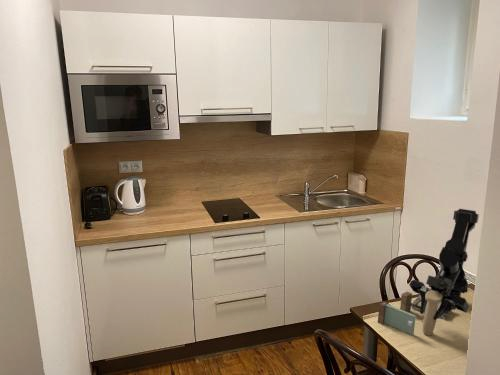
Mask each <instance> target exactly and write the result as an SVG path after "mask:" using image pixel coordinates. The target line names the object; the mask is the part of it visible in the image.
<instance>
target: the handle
mask: <svg viewBox="0 0 500 375" xmlns="http://www.w3.org/2000/svg"><path fill="white" fill-rule="evenodd" d="M425 299H426V300H427V305H426V310H425V312H424V313H423V314H424V315H423V320H422V332H423V335H426V336H427V337H429V336H432V335H433V334H434V330H435V327H436V323H437V319H436V320H434V316H435V314H436V312H437V310H438V308H439V307H438V303H440V302H441V300H442V294H441V293H439V292H437V291H433V290H431V291H427V292H426V294H425Z"/></svg>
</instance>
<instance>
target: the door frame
mask: <svg viewBox="0 0 500 375" xmlns="http://www.w3.org/2000/svg"><path fill="white" fill-rule="evenodd" d="M400 296H401V298H400V305H399V306H400V308H399V309H401V310H403V311H406V312H408V313H410V312H411V309H412V307H411V303H412V300H413V293H412V292H410V291H406V292H403V293H401V295H400ZM385 306H386V305H384V304H383V302H379V304H378V313H377V314H378V315H377V323H378V324H379V325H382V326H383V325H384V324H385V323H384V317H385Z"/></svg>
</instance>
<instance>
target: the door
mask: <svg viewBox="0 0 500 375" xmlns="http://www.w3.org/2000/svg"><path fill="white" fill-rule="evenodd" d="M382 304H384V305H386V306H385V317H384V324H387V325H389V326H391V327H393V328H396V329H398V330H400V331H402V332H405V333H407V334H409V335H411V336H412V335H414V333H415V328H416V327H415V325H416V318H417V316H416V315H415V314H412V313H410V312H406V311H403V310H401V309H400V308H399V307H398V308H397V307H395V306H393V305H391V304H388V303H387V302H382Z"/></svg>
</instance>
